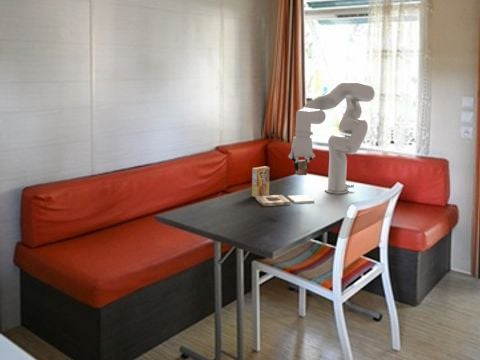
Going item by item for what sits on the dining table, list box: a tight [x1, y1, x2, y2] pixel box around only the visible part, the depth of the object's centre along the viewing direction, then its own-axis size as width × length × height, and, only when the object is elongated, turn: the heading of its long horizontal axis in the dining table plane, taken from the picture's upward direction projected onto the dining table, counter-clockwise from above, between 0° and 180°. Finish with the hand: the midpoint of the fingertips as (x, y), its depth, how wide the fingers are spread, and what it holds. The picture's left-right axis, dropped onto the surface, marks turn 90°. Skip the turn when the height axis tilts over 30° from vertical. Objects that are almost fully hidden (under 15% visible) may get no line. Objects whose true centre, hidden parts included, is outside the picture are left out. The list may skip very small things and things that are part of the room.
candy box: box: [251, 165, 271, 198], centre depth 286 cm, size 9×4×15 cm, turn 129°
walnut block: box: [294, 159, 308, 176], centre depth 276 cm, size 4×4×7 cm
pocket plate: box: [255, 194, 292, 207], centre depth 276 cm, size 14×14×2 cm
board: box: [287, 194, 315, 205], centre depth 280 cm, size 10×12×1 cm
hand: (301, 169), depth 276 cm, fingers closed on walnut block, 4 cm apart
